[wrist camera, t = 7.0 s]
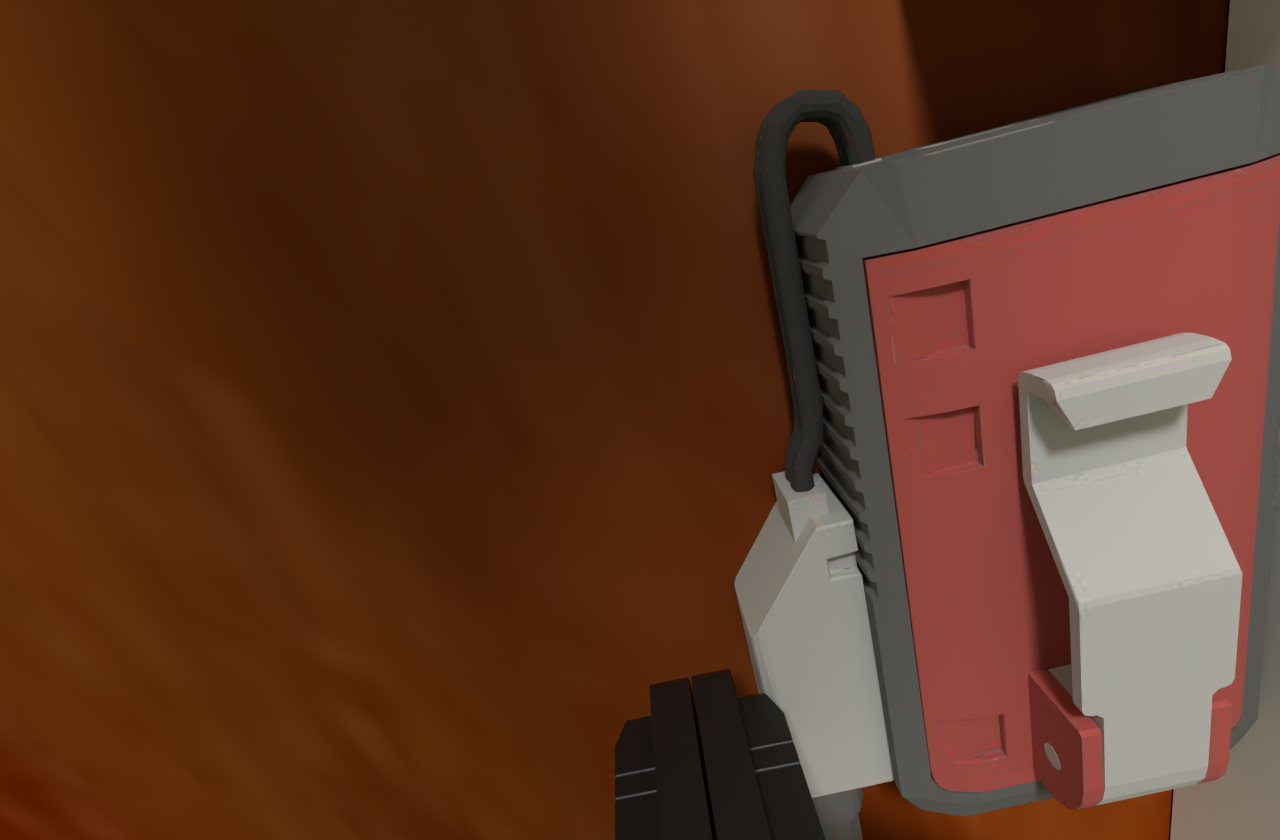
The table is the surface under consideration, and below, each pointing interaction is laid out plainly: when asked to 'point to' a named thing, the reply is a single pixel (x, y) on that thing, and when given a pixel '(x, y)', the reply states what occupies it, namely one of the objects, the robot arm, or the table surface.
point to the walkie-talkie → (1023, 450)
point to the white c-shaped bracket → (1276, 743)
